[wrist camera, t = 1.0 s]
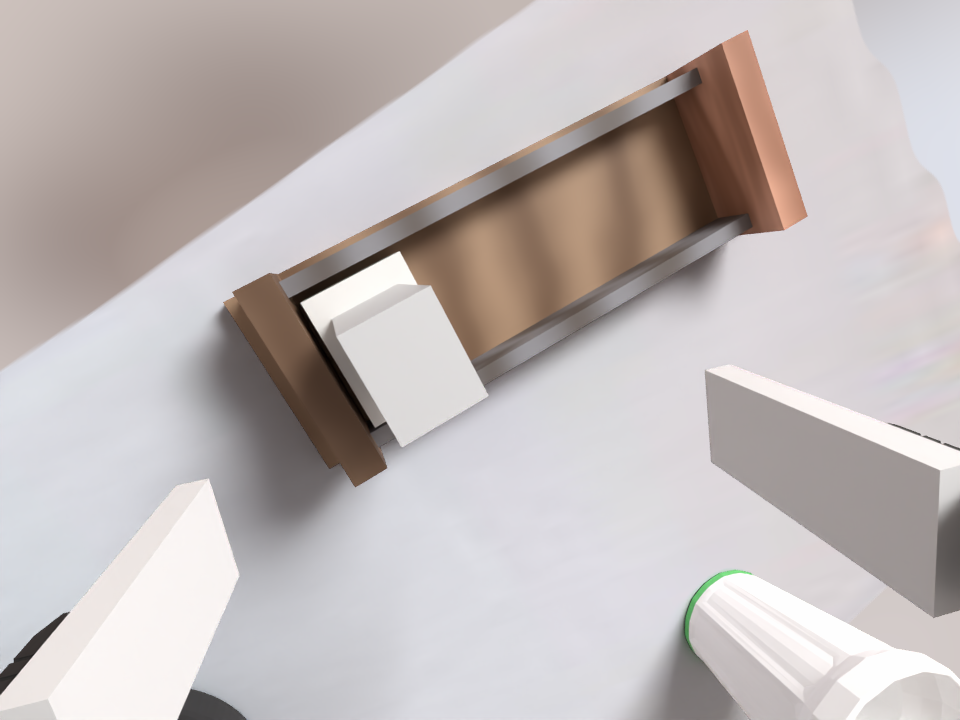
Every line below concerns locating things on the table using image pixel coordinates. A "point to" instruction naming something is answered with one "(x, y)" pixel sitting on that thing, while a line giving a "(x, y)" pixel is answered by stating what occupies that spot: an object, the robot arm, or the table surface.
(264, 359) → the track
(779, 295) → the table surface
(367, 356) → the block
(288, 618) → the table surface
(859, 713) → the cup
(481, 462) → the table surface
